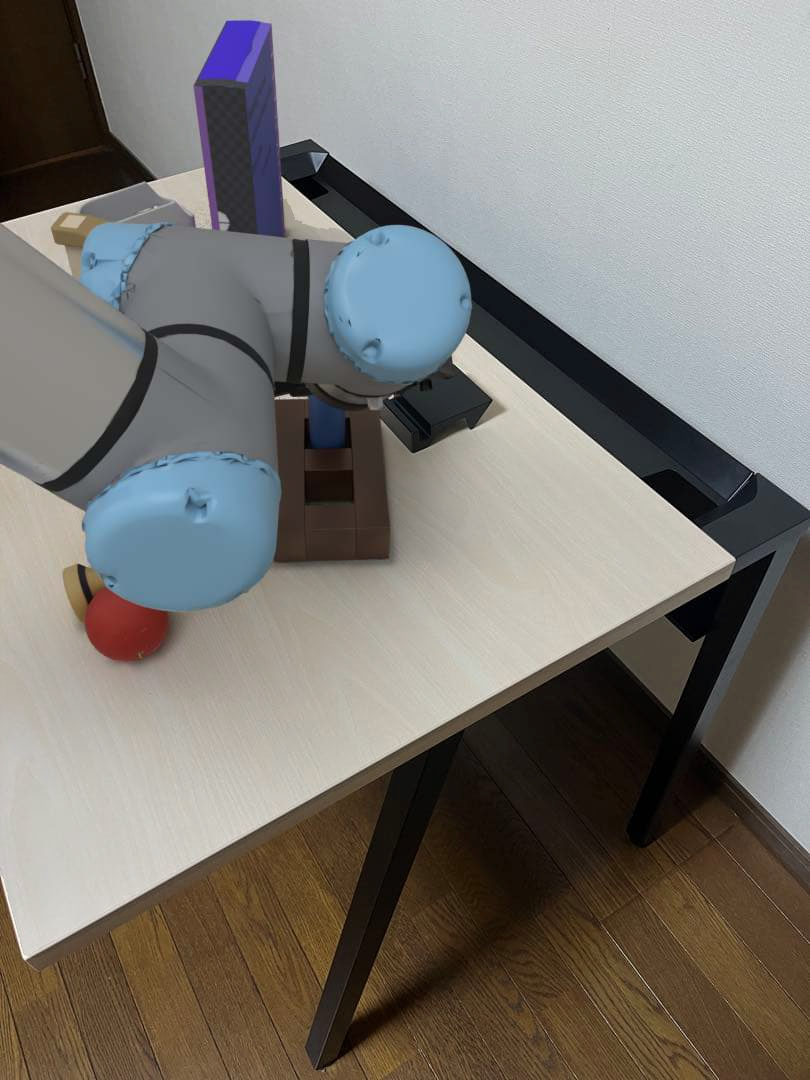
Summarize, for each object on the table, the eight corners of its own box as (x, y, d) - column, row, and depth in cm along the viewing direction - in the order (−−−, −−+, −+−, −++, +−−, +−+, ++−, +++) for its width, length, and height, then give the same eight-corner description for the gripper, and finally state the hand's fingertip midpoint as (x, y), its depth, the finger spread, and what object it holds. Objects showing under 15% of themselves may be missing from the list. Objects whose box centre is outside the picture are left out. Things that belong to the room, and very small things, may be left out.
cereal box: (247, 229, 110) (226, 18, 92) (285, 232, 110) (271, 21, 92) (222, 307, 99) (193, 83, 81) (264, 310, 99) (244, 86, 81)
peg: (311, 477, 81) (306, 373, 72) (311, 454, 83) (306, 349, 74) (346, 476, 81) (345, 372, 72) (344, 453, 83) (343, 349, 74)
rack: (273, 562, 74) (270, 530, 71) (277, 431, 85) (274, 399, 82) (388, 559, 75) (390, 527, 72) (377, 429, 86) (378, 397, 83)
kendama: (53, 538, 76) (77, 686, 64) (47, 478, 73) (71, 622, 60) (144, 528, 79) (185, 668, 67) (143, 470, 76) (185, 606, 63)
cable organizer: (209, 295, 100) (195, 195, 91) (114, 337, 94) (89, 233, 85) (176, 271, 103) (159, 171, 94) (82, 310, 97) (54, 207, 88)
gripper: (175, 430, 55) (187, 449, 76) (543, 382, 60) (460, 412, 81) (155, 311, 55) (173, 363, 76) (528, 273, 60) (448, 331, 80)
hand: (321, 389), depth 78 cm, fingers open, 13 cm apart
